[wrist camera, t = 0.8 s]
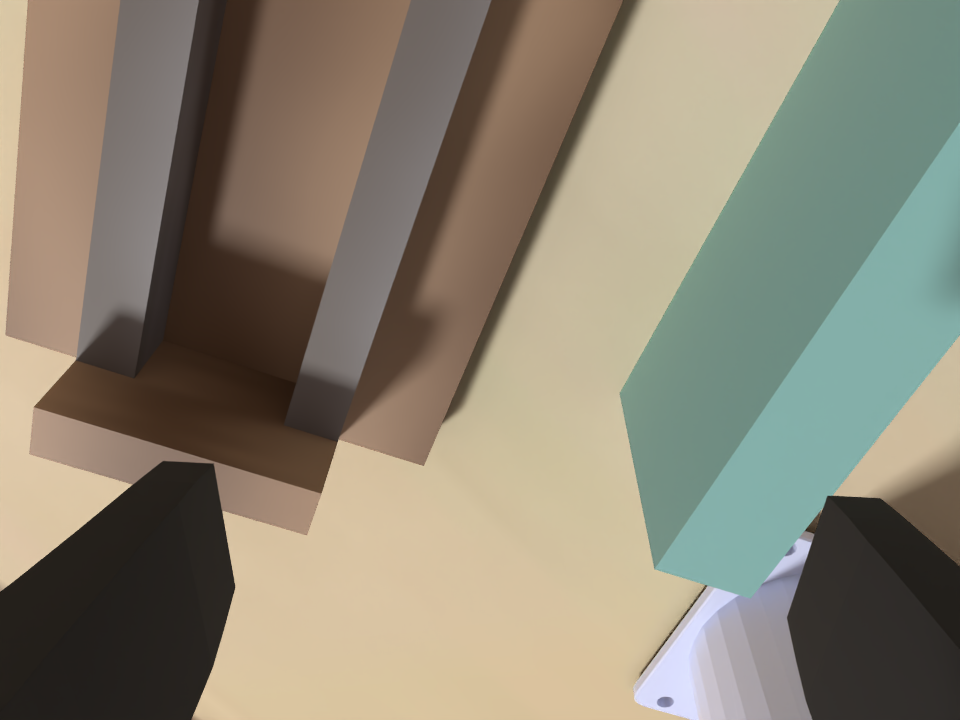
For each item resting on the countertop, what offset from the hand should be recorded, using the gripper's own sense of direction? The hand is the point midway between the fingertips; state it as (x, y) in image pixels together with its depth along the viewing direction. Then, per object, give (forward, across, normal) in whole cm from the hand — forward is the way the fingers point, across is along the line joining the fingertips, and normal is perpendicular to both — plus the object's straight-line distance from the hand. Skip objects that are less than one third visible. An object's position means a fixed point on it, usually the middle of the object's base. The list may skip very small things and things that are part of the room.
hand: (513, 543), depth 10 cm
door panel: (+10, -6, -1) cm, 11 cm away
